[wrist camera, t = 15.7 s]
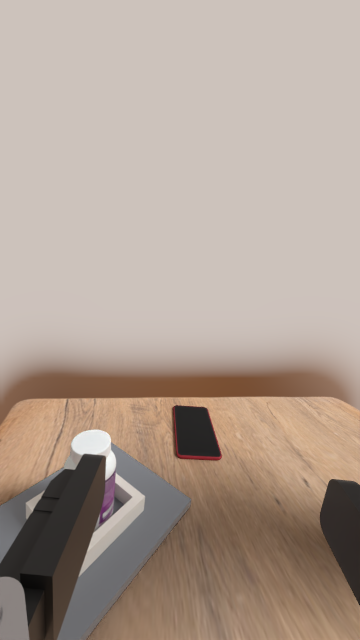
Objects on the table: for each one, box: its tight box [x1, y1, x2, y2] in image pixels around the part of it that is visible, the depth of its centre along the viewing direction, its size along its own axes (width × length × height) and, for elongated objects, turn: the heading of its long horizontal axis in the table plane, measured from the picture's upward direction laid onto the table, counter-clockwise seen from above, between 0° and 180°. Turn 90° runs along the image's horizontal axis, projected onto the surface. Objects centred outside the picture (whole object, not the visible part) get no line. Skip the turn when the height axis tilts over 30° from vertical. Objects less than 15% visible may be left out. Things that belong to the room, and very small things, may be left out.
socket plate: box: [0, 443, 191, 640], centre depth 29 cm, size 19×16×3 cm
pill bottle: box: [64, 430, 116, 533], centre depth 28 cm, size 5×5×10 cm
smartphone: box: [173, 405, 222, 460], centre depth 48 cm, size 7×1×15 cm
